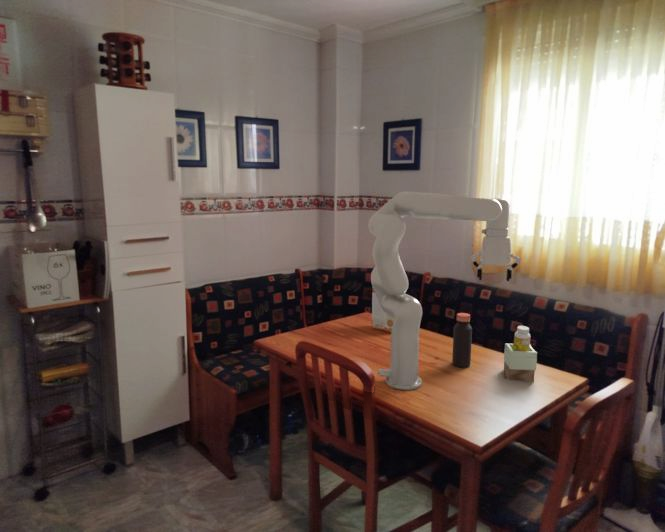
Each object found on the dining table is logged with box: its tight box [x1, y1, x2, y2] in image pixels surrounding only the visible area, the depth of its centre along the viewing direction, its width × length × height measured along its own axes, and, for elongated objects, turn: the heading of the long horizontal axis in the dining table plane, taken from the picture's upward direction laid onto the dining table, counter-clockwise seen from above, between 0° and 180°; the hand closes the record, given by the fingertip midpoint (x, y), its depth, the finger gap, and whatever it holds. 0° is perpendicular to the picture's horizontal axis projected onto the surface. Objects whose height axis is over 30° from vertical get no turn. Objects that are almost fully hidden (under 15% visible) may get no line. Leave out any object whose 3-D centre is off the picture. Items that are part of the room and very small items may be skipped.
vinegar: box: [451, 312, 473, 368], centre depth 187 cm, size 7×7×20 cm
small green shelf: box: [503, 343, 538, 371], centre depth 177 cm, size 9×9×6 cm
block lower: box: [503, 360, 536, 383], centre depth 178 cm, size 9×9×4 cm
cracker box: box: [371, 286, 394, 333], centre depth 229 cm, size 14×6×21 cm, turn 46°
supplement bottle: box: [513, 325, 532, 351], centre depth 175 cm, size 5×5×10 cm
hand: (493, 279), depth 178 cm, fingers open, 9 cm apart
